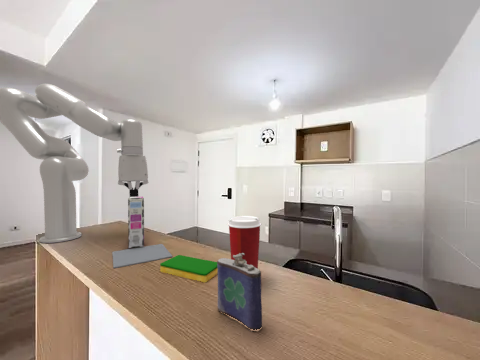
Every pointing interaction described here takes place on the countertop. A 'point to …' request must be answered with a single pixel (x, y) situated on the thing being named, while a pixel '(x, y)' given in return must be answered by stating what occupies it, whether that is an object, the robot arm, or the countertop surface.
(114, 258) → the mat
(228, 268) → the flask
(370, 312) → the countertop surface
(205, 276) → the dish sponge
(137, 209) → the candy bar box
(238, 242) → the paper cup
